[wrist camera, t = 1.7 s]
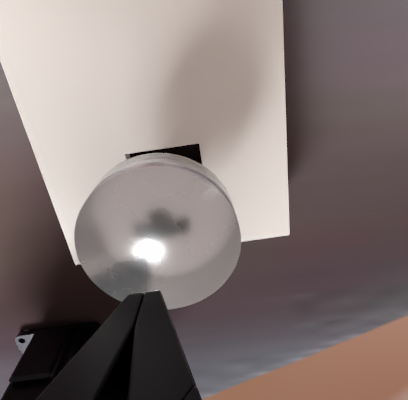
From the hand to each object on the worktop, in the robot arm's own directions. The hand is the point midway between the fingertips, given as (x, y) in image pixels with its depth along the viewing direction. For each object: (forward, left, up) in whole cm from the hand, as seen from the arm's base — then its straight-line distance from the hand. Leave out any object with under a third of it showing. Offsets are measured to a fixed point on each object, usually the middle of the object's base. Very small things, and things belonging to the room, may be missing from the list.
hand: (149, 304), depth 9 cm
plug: (0, 0, -8) cm, 8 cm away
